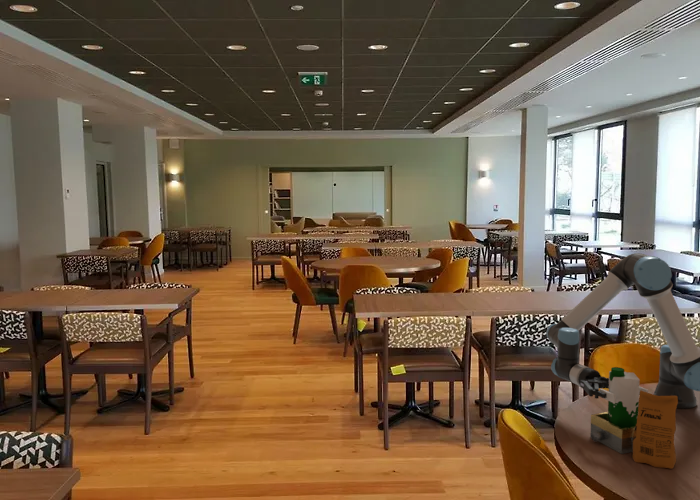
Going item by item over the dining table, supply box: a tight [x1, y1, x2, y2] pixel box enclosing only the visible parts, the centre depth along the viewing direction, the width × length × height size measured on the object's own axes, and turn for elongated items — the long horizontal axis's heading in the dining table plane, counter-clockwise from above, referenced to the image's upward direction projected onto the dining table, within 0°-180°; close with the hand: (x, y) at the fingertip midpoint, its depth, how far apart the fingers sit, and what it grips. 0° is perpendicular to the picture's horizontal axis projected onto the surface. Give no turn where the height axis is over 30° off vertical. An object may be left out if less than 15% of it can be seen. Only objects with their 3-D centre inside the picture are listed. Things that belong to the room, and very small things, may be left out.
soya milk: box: [607, 366, 641, 428], centre depth 200 cm, size 9×9×20 cm
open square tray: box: [590, 411, 636, 455], centre depth 201 cm, size 17×14×8 cm
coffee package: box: [632, 390, 678, 469], centre depth 187 cm, size 10×12×22 cm
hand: (631, 396), depth 197 cm, fingers open, 13 cm apart
